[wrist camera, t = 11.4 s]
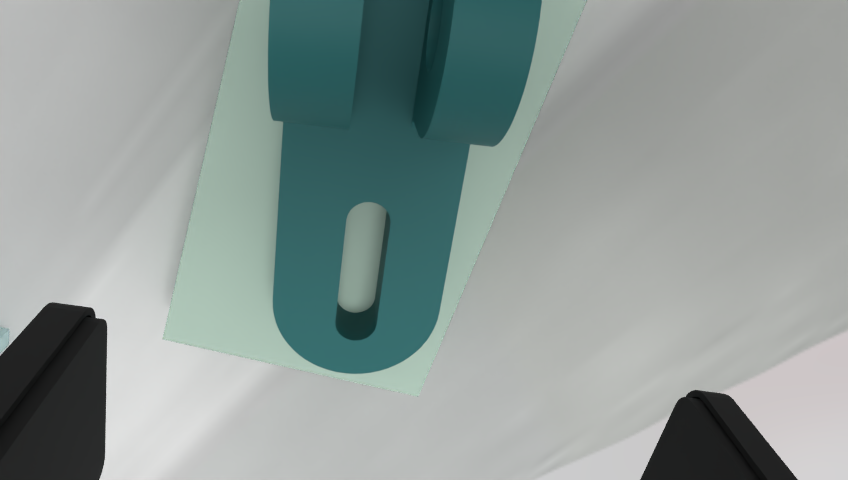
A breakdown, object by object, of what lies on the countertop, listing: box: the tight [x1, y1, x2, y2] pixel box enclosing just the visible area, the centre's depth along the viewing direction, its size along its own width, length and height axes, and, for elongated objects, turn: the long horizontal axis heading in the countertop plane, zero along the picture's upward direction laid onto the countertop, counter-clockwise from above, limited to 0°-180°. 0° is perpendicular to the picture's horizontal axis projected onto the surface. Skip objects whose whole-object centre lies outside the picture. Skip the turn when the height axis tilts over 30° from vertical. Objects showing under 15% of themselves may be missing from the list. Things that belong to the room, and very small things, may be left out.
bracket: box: [268, 0, 542, 374], centre depth 22 cm, size 18×7×8 cm, turn 171°
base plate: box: [163, 0, 587, 397], centre depth 27 cm, size 12×22×4 cm, turn 160°
